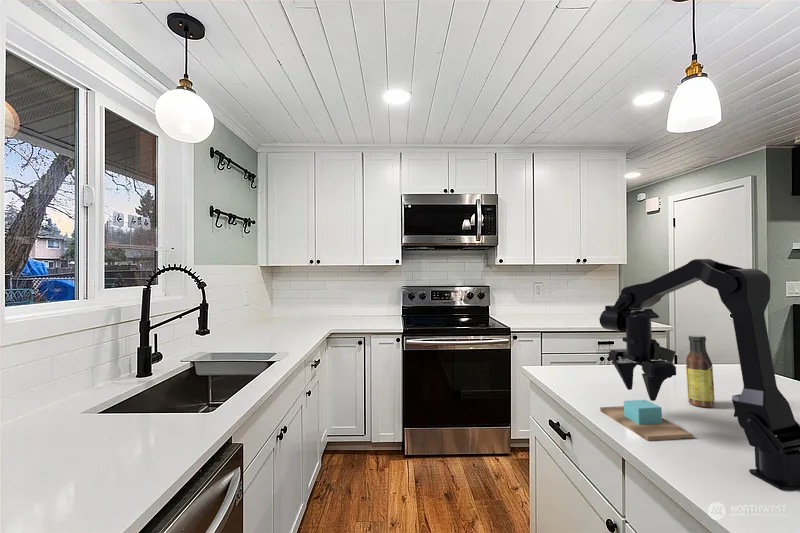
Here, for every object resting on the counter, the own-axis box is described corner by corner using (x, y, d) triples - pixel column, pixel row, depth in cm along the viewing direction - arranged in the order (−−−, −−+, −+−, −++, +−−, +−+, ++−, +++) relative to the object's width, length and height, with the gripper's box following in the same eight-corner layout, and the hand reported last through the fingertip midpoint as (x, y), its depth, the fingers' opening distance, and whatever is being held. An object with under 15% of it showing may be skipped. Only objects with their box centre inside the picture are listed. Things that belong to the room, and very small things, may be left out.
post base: (693, 438, 94) (692, 423, 94) (647, 440, 93) (647, 425, 93) (637, 408, 114) (637, 396, 114) (600, 410, 113) (599, 398, 113)
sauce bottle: (719, 408, 112) (716, 337, 112) (694, 407, 113) (691, 337, 113) (706, 401, 118) (704, 333, 118) (683, 400, 119) (680, 333, 120)
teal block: (662, 423, 100) (661, 407, 100) (639, 424, 100) (638, 408, 100) (645, 414, 106) (645, 399, 106) (624, 415, 106) (623, 400, 106)
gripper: (696, 339, 95) (699, 405, 95) (644, 328, 113) (646, 383, 113) (651, 341, 94) (654, 407, 94) (606, 329, 113) (608, 385, 113)
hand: (640, 394), depth 104 cm, fingers open, 9 cm apart
